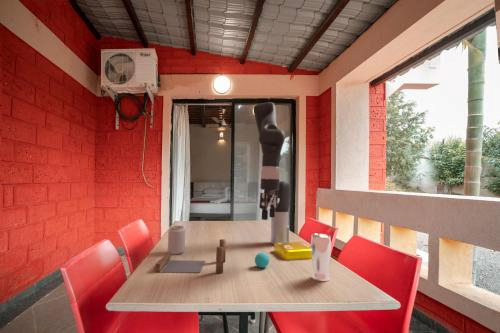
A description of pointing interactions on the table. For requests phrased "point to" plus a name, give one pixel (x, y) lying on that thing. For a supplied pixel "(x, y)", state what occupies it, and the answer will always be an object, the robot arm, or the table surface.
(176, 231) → the can
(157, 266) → the strip
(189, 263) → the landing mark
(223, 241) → the post
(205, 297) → the table surface
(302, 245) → the element tile
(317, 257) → the silver metal tumbler
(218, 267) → the post
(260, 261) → the ball
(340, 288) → the table surface
